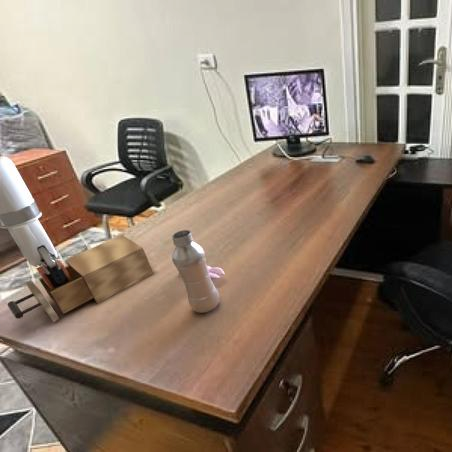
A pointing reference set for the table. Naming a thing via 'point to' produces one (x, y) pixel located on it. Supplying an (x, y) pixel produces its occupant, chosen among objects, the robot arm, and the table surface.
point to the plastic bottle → (194, 272)
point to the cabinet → (111, 266)
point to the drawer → (56, 296)
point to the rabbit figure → (214, 272)
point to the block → (42, 273)
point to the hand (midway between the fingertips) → (57, 280)
